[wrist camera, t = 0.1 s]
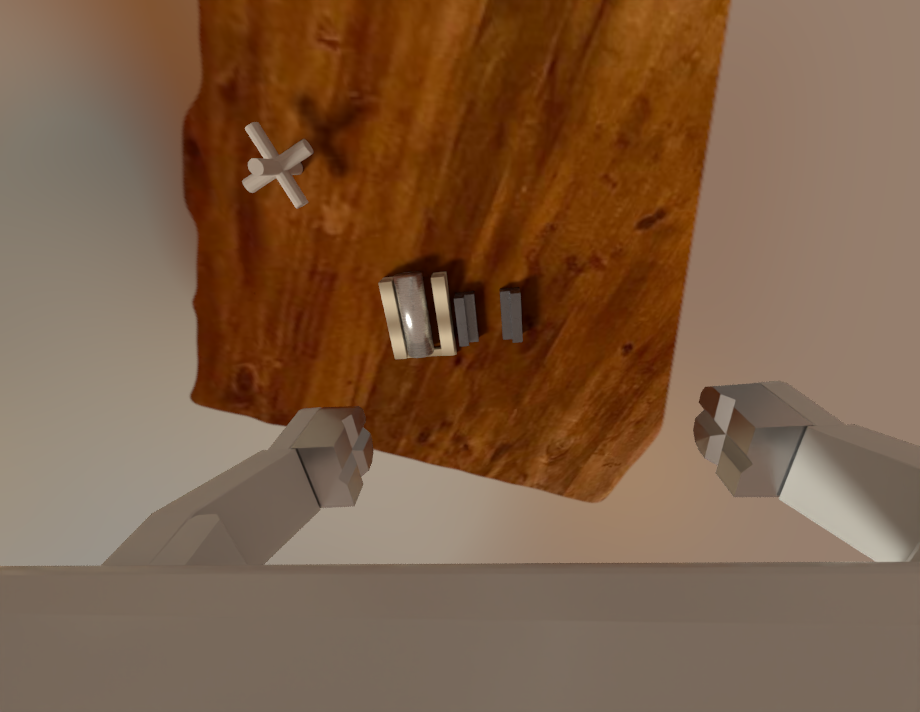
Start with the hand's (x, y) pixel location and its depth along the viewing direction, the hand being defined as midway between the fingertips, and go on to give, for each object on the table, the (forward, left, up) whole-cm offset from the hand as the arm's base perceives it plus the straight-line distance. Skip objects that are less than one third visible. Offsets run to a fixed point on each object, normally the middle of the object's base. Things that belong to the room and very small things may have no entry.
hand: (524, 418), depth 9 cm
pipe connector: (-9, -27, -48) cm, 56 cm away
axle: (+14, -14, -46) cm, 50 cm away
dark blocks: (+15, -2, -48) cm, 50 cm away
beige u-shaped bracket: (+14, -13, -48) cm, 52 cm away
